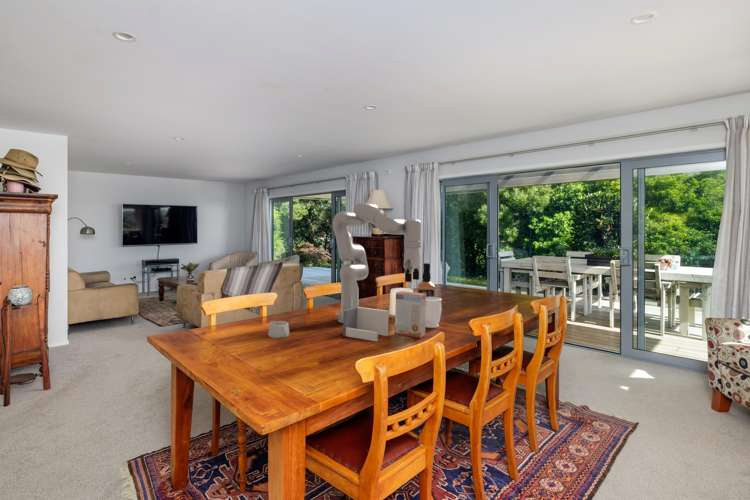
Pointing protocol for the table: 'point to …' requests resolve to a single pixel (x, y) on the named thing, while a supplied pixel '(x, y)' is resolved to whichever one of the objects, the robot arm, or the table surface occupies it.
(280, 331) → the grey rounded block
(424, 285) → the whiskey bottle
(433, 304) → the jar
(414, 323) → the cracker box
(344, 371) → the table surface
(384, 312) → the shelf nook
